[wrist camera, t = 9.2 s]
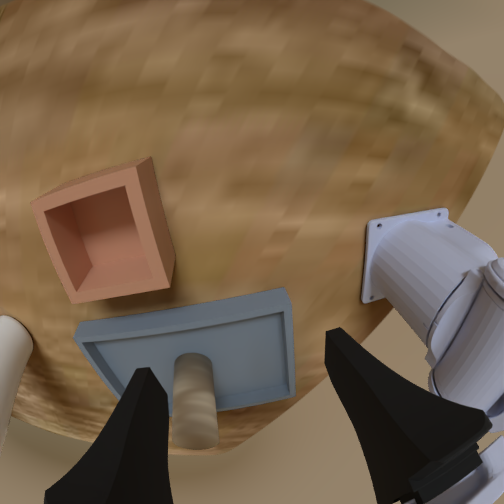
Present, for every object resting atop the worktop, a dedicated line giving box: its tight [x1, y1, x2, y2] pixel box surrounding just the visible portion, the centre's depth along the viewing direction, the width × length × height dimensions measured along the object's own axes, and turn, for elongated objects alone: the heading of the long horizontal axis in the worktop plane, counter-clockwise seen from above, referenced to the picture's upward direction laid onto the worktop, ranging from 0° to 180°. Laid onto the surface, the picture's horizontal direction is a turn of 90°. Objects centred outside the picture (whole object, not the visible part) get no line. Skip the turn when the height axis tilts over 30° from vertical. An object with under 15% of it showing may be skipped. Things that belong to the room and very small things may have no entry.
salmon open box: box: [31, 157, 176, 304], centre depth 15 cm, size 7×7×4 cm
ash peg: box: [172, 353, 220, 450], centre depth 20 cm, size 4×4×8 cm
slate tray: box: [73, 287, 296, 417], centre depth 23 cm, size 18×13×2 cm
